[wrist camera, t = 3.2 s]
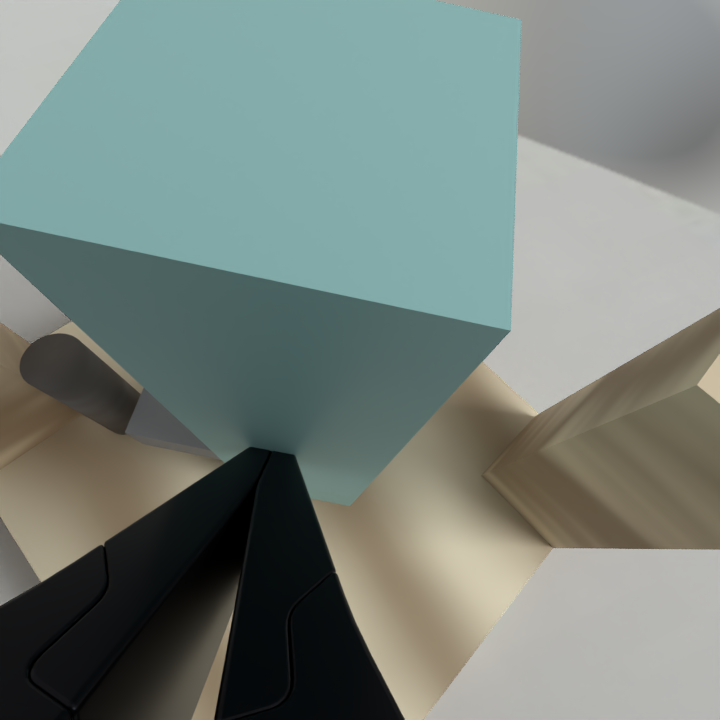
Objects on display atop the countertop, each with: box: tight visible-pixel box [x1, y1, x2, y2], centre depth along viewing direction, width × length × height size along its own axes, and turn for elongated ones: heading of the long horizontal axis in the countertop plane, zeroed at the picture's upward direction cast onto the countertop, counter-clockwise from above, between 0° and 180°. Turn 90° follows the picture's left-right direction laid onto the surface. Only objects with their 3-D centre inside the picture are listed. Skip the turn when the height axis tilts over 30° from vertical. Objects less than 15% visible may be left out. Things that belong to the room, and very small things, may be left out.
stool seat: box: [0, 308, 720, 720], centre depth 12 cm, size 17×19×12 cm
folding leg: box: [0, 0, 521, 506], centre depth 9 cm, size 7×4×13 cm, turn 80°
